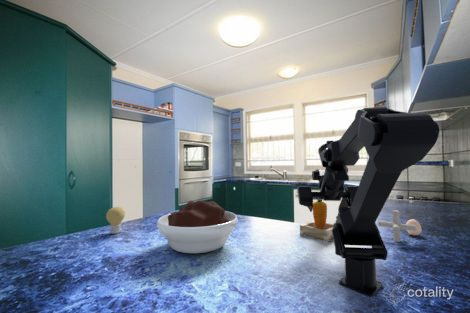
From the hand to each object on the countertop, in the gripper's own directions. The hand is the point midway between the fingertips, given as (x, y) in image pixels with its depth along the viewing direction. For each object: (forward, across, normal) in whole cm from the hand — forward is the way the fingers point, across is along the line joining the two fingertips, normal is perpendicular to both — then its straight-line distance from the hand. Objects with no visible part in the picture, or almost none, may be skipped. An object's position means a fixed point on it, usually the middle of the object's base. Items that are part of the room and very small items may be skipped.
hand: (324, 210), depth 74 cm
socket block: (+12, 0, +2) cm, 12 cm away
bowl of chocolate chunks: (+1, +41, +14) cm, 43 cm away
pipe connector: (+9, -24, +5) cm, 26 cm away
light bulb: (+8, +78, +6) cm, 79 cm away
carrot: (+12, 0, +2) cm, 12 cm away
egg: (+15, -33, 0) cm, 36 cm away
